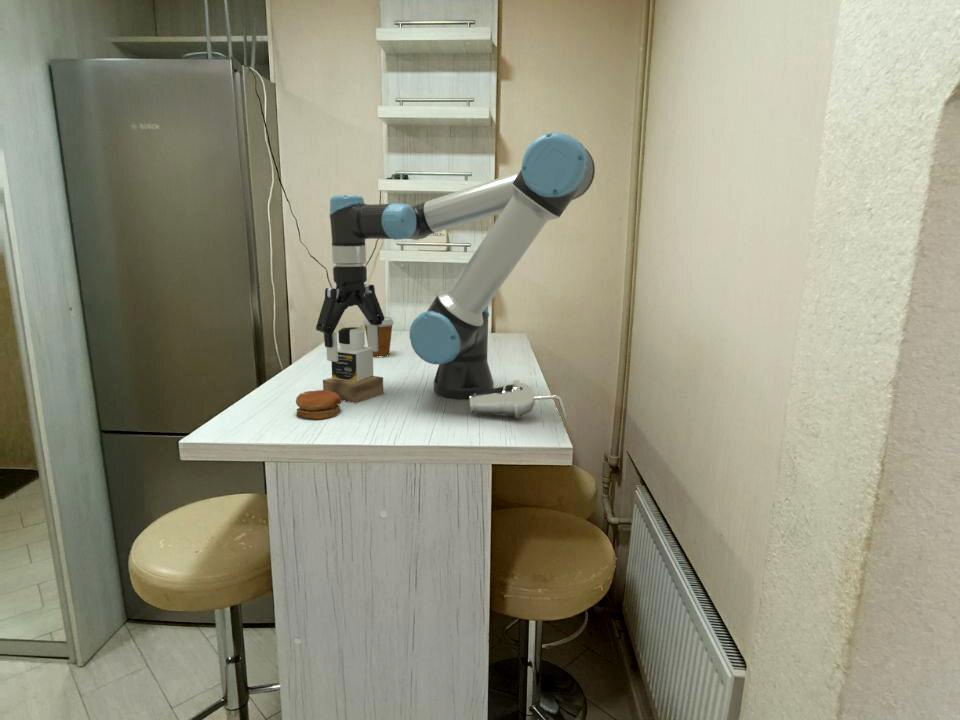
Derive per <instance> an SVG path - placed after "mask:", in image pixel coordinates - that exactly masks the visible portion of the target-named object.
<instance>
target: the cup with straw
mask: <svg viewBox="0 0 960 720" xmlns="http://www.w3.org/2000/svg"><path fill="white" fill-rule="evenodd" d="M551 399H556V400H557V401H558V404H559V407H560V410H561V415H562V416H563V419H564V420H567V418H568V417H567V414H566V413H567V412H566V411H565V406H564V404H563V400H562V398H561V396H559V395H557V394H556V395H555V394H552V395H539V396H536V394H535V391H534V389H532V387H530V386H529V385H528V384H526V383H522V382H521V381H520V380H519V379H518V380H517V379H514V381H513V383H508V384H505V385H502V386H499V387H494V388H492V389H486V390H481V391H476V392H474V393H473V392H471V393H470V398H469V408H470V411H471V413H472V414H480V415H481V414H482V415H483V414H485V415H503V416H509V417H515V418H516V420H521V419H522V418H523V416H526V415H528V414H529V413H531V412H532V411H533V410H534V408H535V405H536V400H537V401H539V400H551Z"/></svg>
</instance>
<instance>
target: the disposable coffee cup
mask: <svg viewBox="0 0 960 720" xmlns="http://www.w3.org/2000/svg"><path fill="white" fill-rule="evenodd" d="M384 318H385V319H384V321H382V324H381V325H378V327H379V336H378V351H377V352H375V351H373V356H376V357H375V358H380V357H379V356H386V357H388V356H387V355H390V352H391V351H390V350H391V349H390V348H391V342H392V341H391V340H392V331H393V325H394V322H395V321H394V319H393V317H390V316H384ZM362 322H363V326H364V328H365V336H366V337H367V325H368V324H370V323H369V321H368V320H367V319H366V317H365V318H364V321H362ZM366 342H367V344H368V339H367V338H366ZM377 356H378V357H377Z"/></svg>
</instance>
